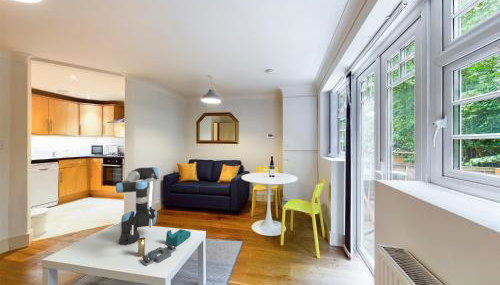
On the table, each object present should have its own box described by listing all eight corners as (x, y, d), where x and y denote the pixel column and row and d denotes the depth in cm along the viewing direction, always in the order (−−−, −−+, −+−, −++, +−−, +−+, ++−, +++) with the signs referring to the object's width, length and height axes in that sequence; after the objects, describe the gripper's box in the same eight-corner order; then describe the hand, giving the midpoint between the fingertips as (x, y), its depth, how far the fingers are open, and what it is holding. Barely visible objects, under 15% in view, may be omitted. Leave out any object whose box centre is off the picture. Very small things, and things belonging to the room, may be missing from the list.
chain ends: (138, 260, 139) (138, 254, 139) (168, 246, 158) (168, 241, 158) (149, 268, 131) (149, 261, 131) (178, 252, 150) (178, 246, 150)
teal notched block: (176, 247, 157) (177, 235, 157) (165, 244, 160) (166, 231, 160) (190, 237, 174) (191, 225, 174) (180, 234, 178) (181, 223, 177)
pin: (136, 255, 145) (136, 239, 145) (143, 252, 149) (143, 236, 149) (139, 258, 142) (139, 241, 142) (146, 254, 146) (146, 238, 146)
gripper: (125, 207, 133) (125, 239, 133) (160, 198, 153) (160, 225, 154) (120, 205, 137) (120, 235, 137) (155, 197, 158) (155, 223, 158)
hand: (141, 230), depth 145 cm, fingers open, 13 cm apart
